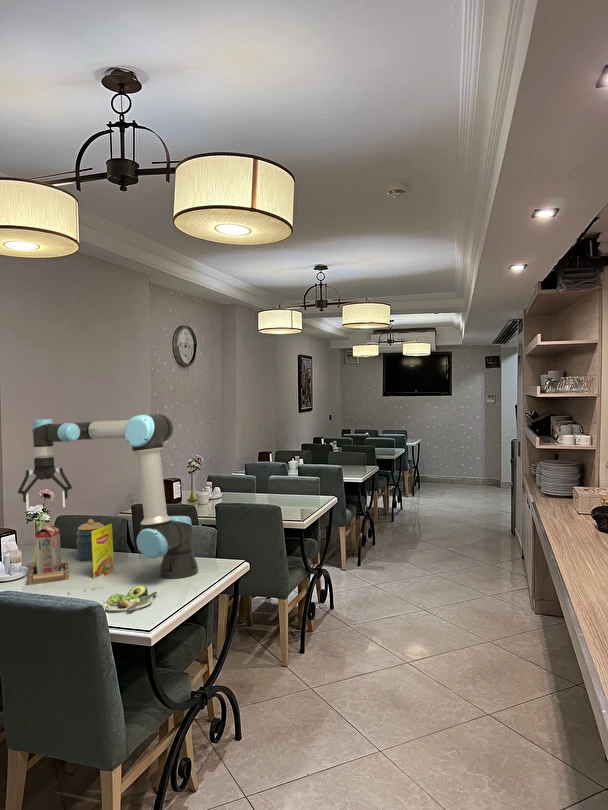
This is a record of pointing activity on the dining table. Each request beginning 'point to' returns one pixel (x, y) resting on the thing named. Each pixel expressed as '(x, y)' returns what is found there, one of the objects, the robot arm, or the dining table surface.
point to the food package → (102, 551)
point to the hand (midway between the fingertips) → (46, 508)
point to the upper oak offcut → (48, 575)
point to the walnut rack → (49, 579)
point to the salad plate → (130, 599)
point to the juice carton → (48, 549)
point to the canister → (86, 540)
